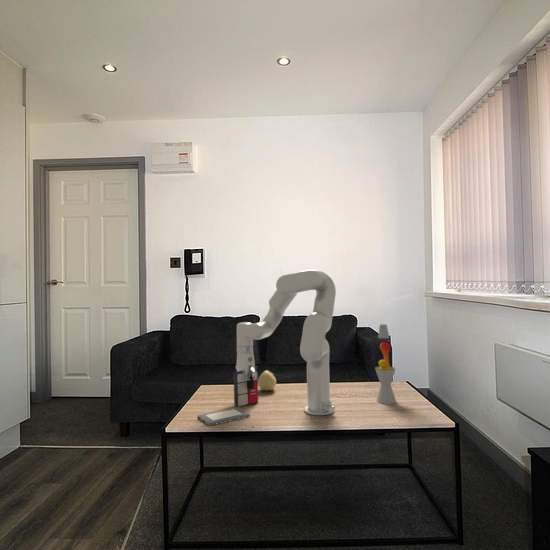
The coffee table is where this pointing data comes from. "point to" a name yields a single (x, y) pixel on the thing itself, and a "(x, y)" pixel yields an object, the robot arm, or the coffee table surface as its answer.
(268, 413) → the coffee table surface
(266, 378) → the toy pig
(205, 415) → the slate picture frame
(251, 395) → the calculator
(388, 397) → the lava lamp
